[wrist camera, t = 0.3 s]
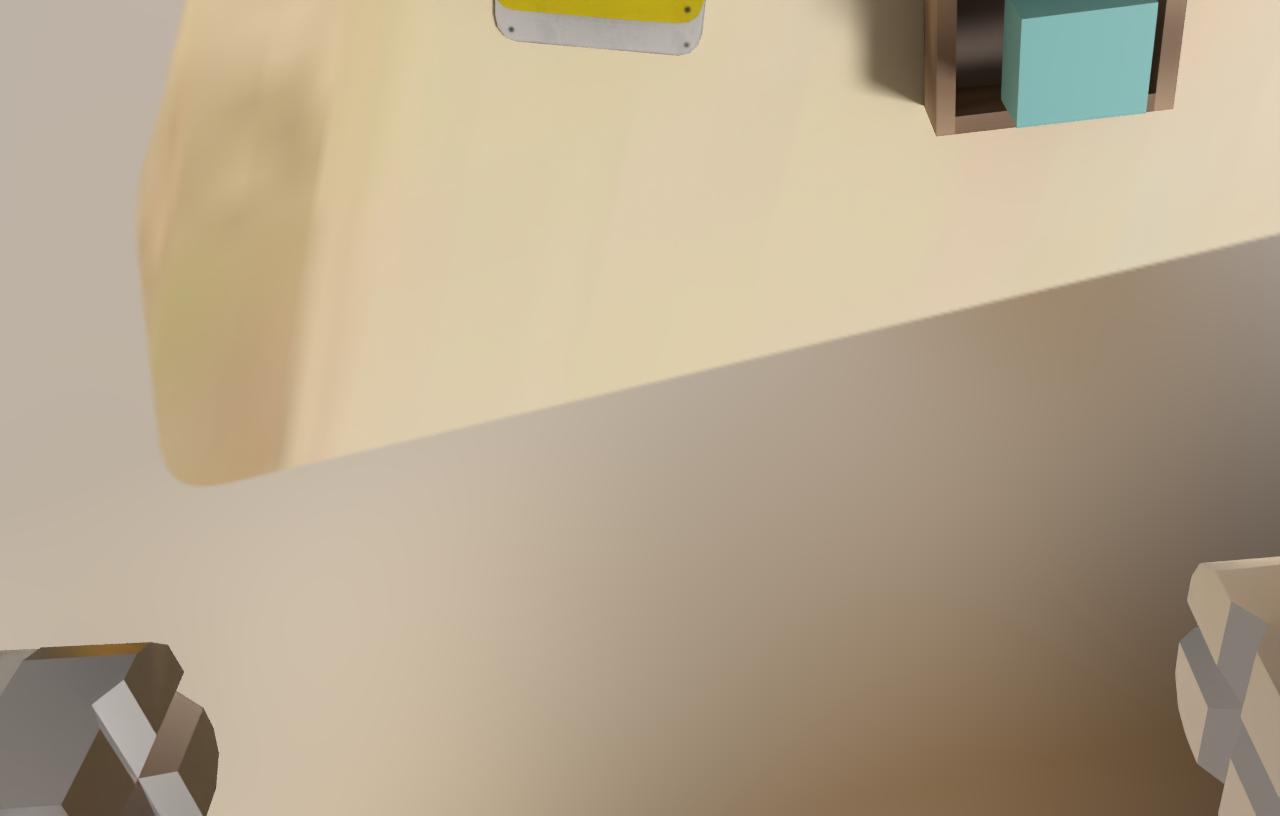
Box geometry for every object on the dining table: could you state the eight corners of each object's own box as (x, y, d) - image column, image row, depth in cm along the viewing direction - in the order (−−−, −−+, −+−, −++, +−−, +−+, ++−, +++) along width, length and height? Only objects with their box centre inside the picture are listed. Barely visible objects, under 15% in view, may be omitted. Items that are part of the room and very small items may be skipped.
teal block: (999, -14, 48) (1021, 19, 45) (1127, -30, 48) (1158, 2, 45) (996, 90, 51) (1016, 128, 48) (1117, 75, 51) (1146, 113, 47)
